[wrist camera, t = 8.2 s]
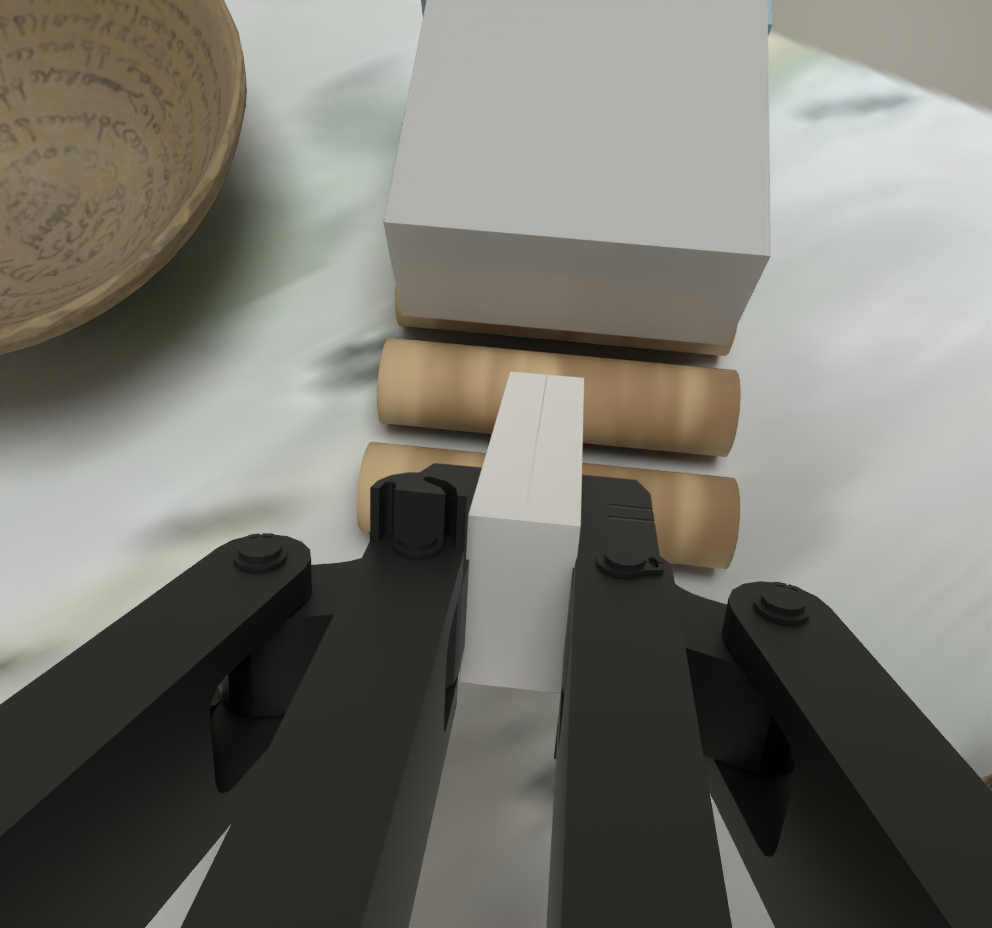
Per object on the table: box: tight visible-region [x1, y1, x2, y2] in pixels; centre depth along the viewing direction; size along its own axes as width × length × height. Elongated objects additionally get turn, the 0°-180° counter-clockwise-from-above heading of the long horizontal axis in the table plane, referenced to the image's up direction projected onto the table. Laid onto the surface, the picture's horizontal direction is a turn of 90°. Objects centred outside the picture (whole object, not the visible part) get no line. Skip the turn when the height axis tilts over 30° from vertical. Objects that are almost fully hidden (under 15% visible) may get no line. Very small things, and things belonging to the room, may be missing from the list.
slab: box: [384, 0, 770, 345], centre depth 29 cm, size 11×10×5 cm
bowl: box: [0, 0, 247, 355], centre depth 31 cm, size 18×18×8 cm
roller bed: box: [357, 287, 740, 569], centre depth 31 cm, size 12×15×3 cm
